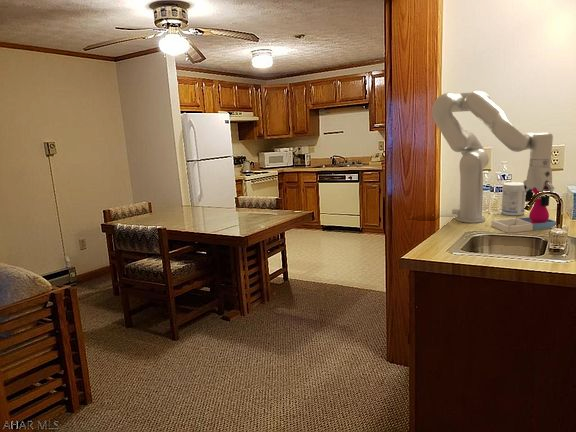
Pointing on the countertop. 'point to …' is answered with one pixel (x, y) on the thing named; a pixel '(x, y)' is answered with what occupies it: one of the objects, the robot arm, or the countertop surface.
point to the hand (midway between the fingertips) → (536, 203)
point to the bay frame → (521, 224)
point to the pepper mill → (538, 210)
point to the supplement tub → (513, 198)
